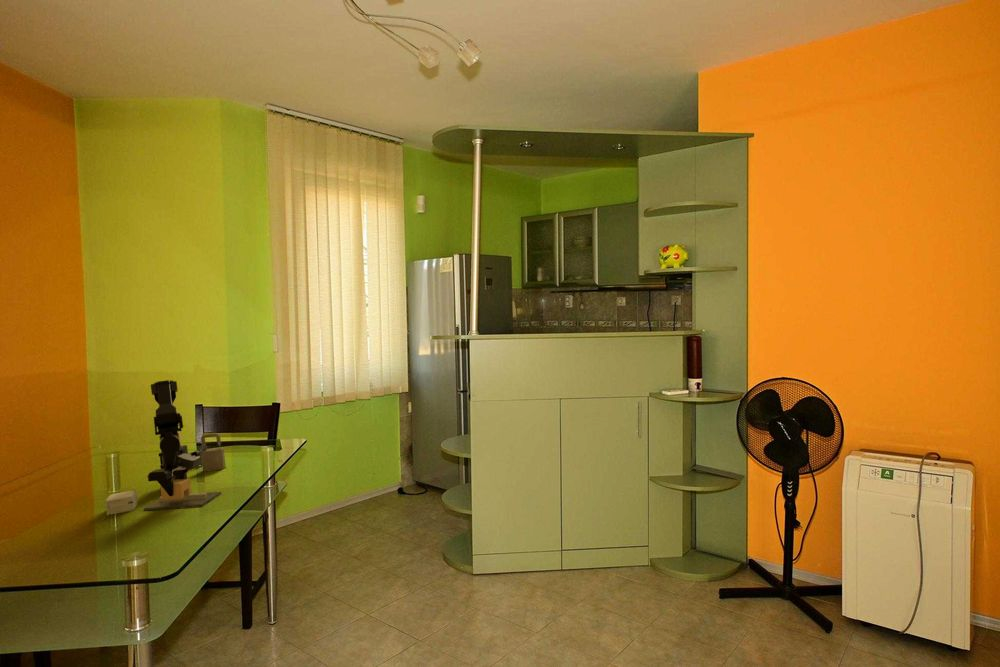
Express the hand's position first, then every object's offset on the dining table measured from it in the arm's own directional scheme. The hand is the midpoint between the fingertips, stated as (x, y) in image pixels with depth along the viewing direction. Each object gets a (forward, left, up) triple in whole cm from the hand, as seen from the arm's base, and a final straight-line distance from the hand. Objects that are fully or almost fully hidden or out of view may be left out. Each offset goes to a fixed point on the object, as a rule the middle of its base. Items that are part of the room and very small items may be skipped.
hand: (176, 493), depth 195 cm
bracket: (-22, +50, -4) cm, 55 cm away
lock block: (0, 0, -1) cm, 1 cm away
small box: (-17, -3, -4) cm, 18 cm away
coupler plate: (+2, 0, -3) cm, 4 cm away
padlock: (-9, +40, -4) cm, 41 cm away
